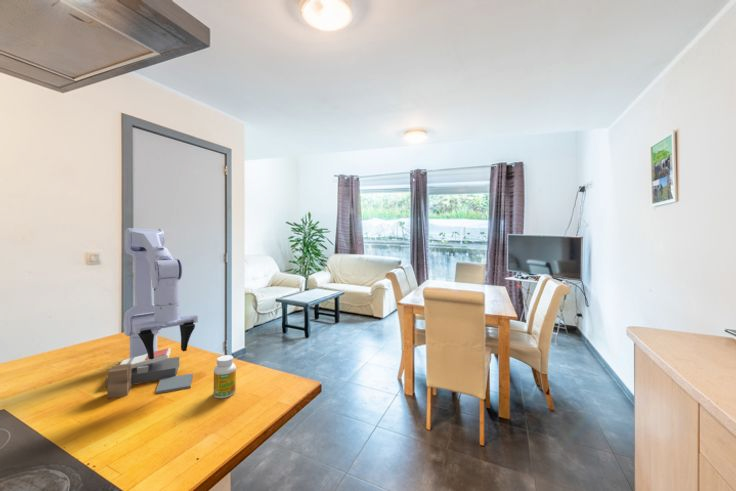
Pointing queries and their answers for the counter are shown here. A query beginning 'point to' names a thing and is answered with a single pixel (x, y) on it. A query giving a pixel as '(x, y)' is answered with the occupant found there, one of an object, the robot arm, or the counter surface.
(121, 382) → the brown rectangular block
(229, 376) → the supplement bottle
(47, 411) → the counter surface
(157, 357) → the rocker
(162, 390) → the mat
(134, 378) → the switch housing
